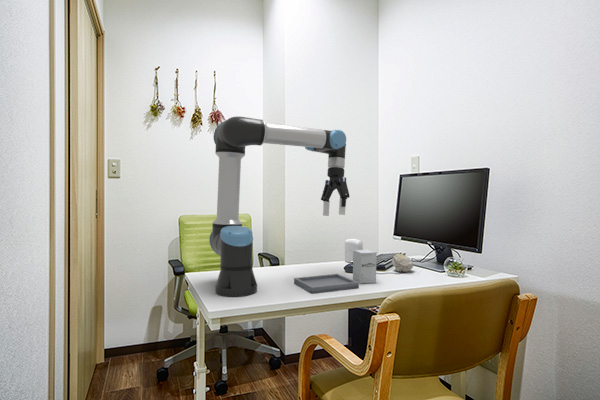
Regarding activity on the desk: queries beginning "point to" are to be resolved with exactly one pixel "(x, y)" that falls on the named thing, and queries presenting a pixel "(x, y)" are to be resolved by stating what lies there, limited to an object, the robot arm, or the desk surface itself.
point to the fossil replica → (402, 263)
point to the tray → (325, 283)
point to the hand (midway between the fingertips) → (333, 215)
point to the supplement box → (364, 266)
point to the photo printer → (352, 248)
